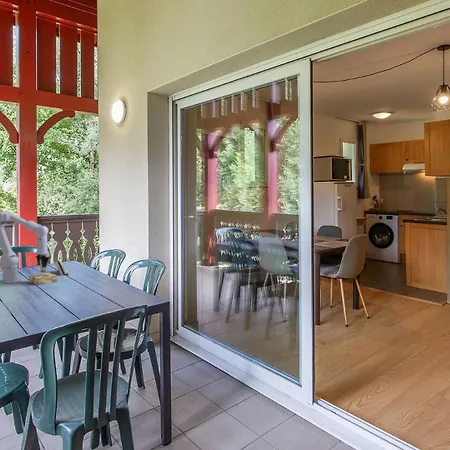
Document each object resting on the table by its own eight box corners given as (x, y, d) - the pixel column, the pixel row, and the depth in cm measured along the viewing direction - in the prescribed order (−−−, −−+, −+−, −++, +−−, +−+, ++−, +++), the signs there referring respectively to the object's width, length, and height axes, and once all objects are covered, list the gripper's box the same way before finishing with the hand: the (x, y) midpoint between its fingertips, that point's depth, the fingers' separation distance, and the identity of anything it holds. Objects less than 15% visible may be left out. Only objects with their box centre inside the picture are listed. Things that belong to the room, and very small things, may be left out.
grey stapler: (69, 274, 256) (63, 261, 254) (62, 277, 254) (56, 264, 252) (66, 270, 271) (60, 257, 268) (59, 273, 269) (53, 260, 266)
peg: (39, 271, 235) (38, 256, 234) (44, 270, 237) (43, 255, 237) (41, 272, 233) (41, 256, 232) (46, 271, 236) (45, 255, 235)
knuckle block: (29, 281, 235) (29, 275, 235) (48, 278, 244) (48, 272, 244) (37, 285, 228) (37, 278, 227) (57, 281, 237) (57, 275, 236)
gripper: (54, 246, 232) (54, 267, 234) (43, 243, 242) (44, 264, 243) (42, 247, 227) (43, 269, 228) (32, 244, 236) (32, 266, 237)
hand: (42, 267), depth 235 cm, fingers closed on peg, 3 cm apart
